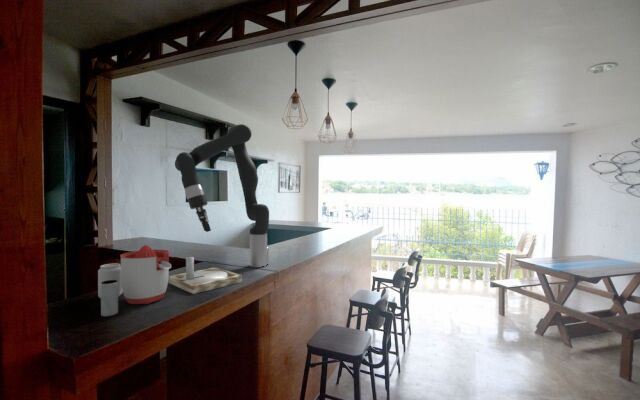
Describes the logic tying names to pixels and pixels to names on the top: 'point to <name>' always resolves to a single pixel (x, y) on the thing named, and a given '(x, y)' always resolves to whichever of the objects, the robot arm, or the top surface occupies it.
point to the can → (109, 276)
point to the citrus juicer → (144, 275)
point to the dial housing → (197, 288)
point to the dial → (201, 273)
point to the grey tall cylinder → (109, 297)
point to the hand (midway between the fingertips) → (207, 230)
